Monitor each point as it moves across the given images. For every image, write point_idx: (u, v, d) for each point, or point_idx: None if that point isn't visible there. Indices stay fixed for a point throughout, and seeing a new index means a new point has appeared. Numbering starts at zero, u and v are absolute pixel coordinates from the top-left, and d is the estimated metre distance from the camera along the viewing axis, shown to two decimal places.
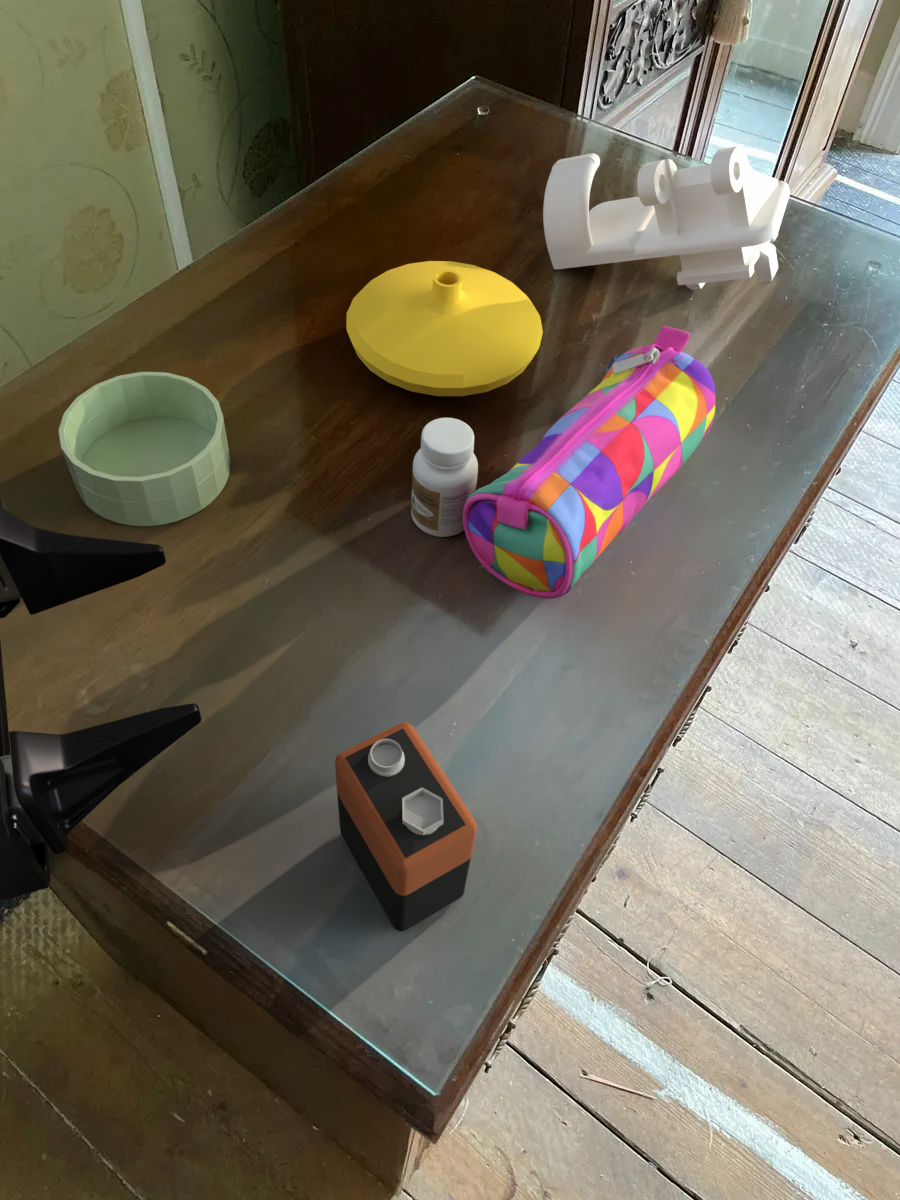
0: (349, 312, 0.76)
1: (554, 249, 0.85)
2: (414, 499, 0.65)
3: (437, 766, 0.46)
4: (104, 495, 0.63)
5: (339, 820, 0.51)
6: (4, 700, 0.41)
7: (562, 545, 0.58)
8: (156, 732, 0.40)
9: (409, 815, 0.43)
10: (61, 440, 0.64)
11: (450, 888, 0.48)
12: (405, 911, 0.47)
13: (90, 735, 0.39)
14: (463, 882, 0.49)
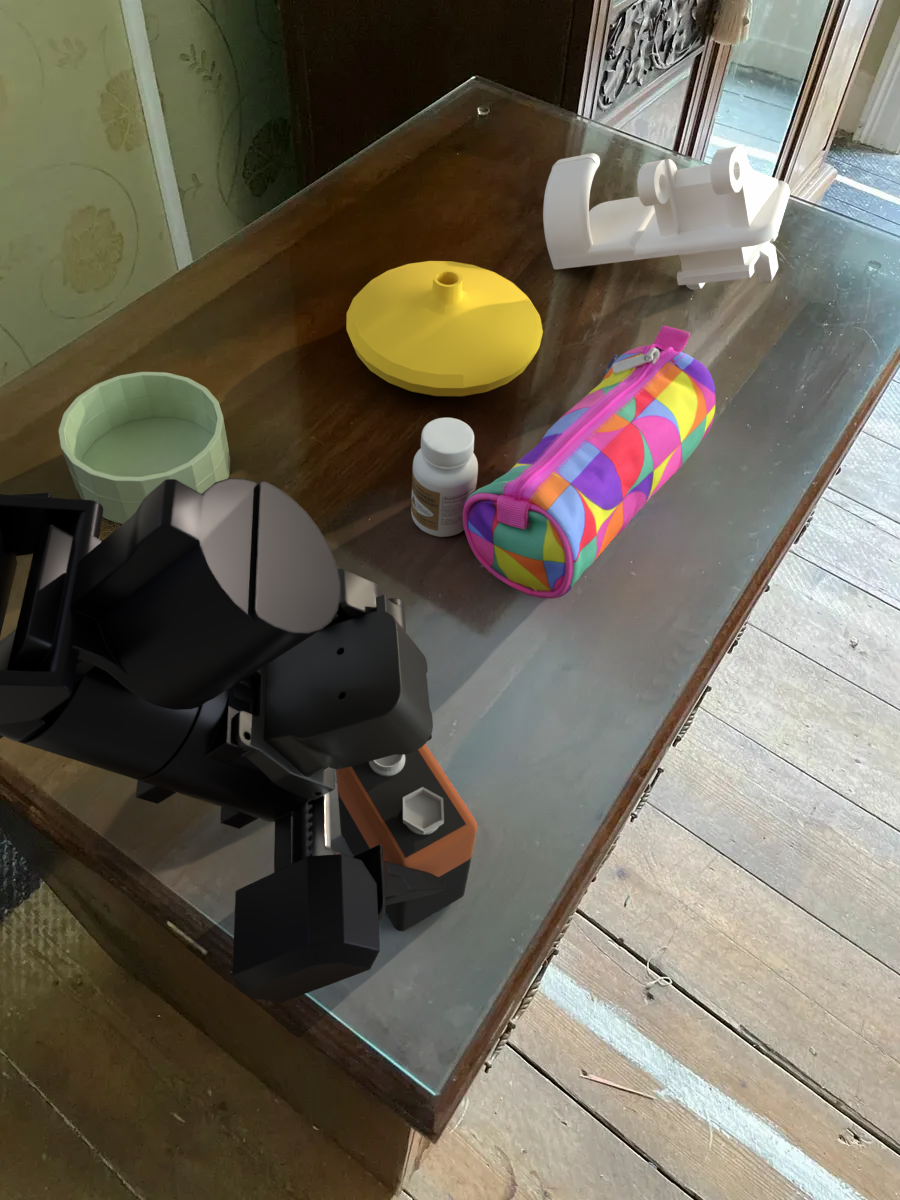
0: (349, 312, 0.76)
1: (554, 249, 0.85)
2: (414, 499, 0.65)
3: (438, 766, 0.46)
4: (104, 495, 0.63)
5: (340, 820, 0.51)
6: None
7: (562, 545, 0.58)
8: (420, 892, 0.43)
9: (409, 814, 0.44)
10: (61, 440, 0.64)
11: (451, 887, 0.48)
12: (406, 911, 0.47)
13: (396, 872, 0.41)
14: (463, 882, 0.49)
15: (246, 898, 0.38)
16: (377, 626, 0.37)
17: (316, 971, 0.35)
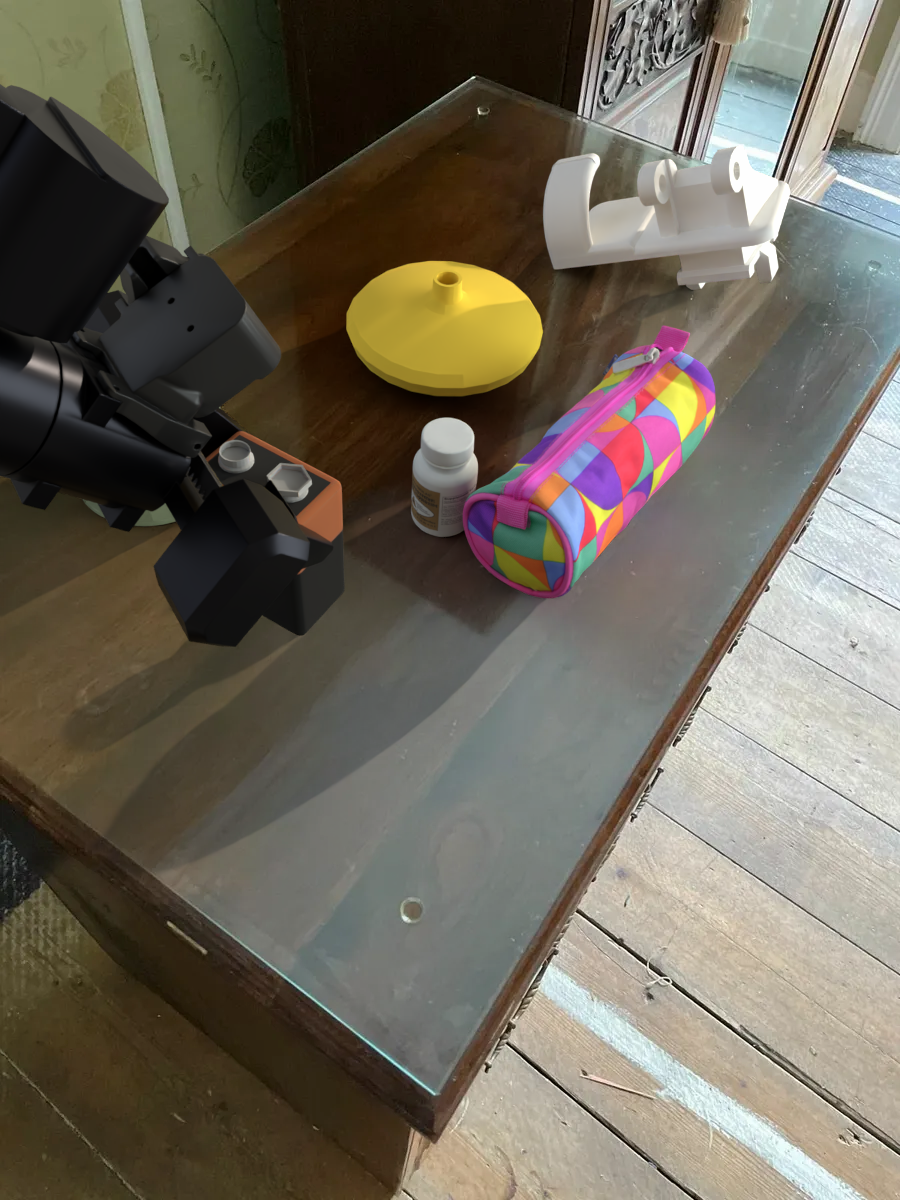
0: (349, 312, 0.76)
1: (554, 249, 0.85)
2: (414, 499, 0.65)
3: (284, 452, 0.49)
4: None
5: None
6: None
7: (562, 545, 0.58)
8: (314, 548, 0.46)
9: (279, 487, 0.46)
10: None
11: (334, 573, 0.52)
12: (303, 600, 0.50)
13: None
14: (342, 567, 0.52)
15: (167, 562, 0.39)
16: (196, 268, 0.39)
17: (263, 576, 0.38)
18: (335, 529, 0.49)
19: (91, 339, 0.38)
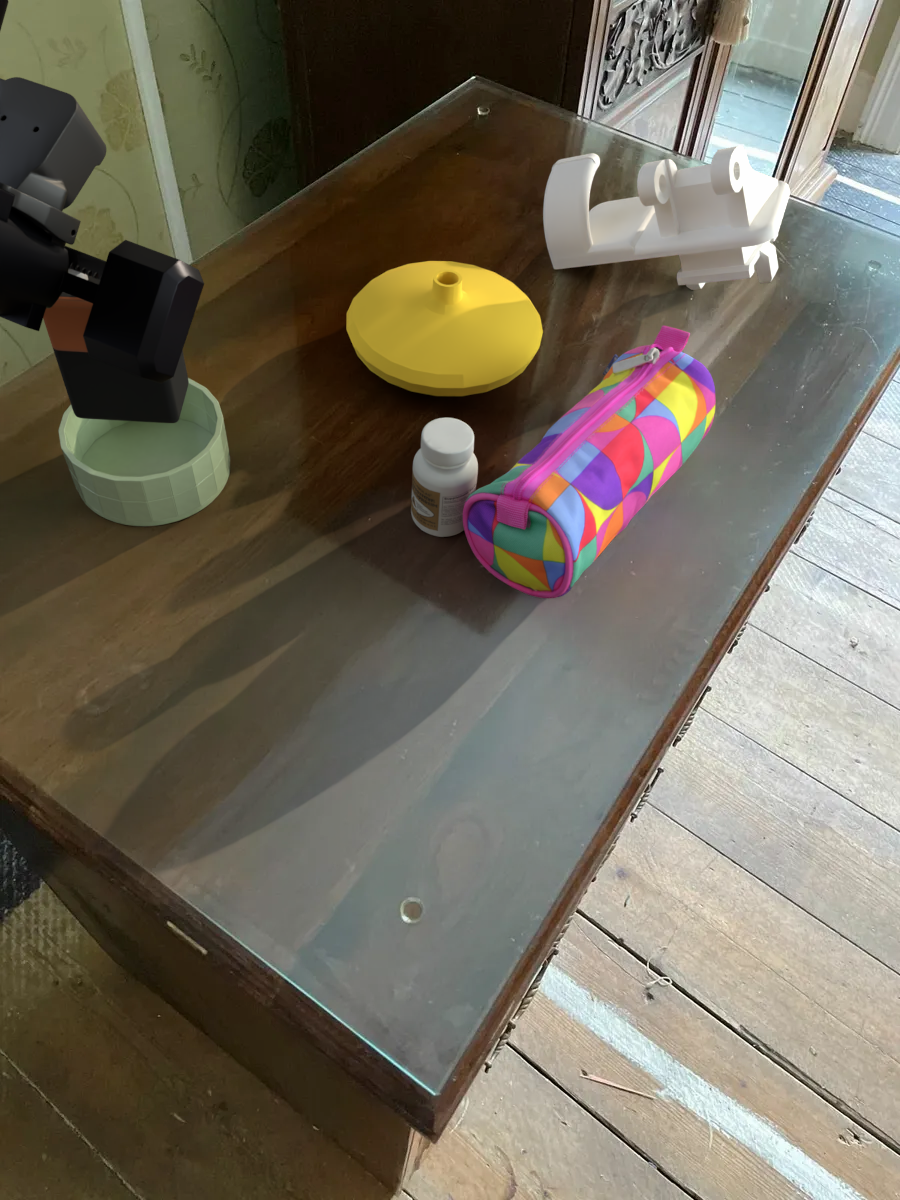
0: (349, 312, 0.76)
1: (554, 249, 0.85)
2: (414, 499, 0.65)
3: None
4: (104, 495, 0.63)
5: (71, 395, 0.60)
6: None
7: (562, 545, 0.58)
8: None
9: None
10: (61, 440, 0.64)
11: (180, 360, 0.62)
12: (172, 382, 0.60)
13: None
14: (183, 356, 0.62)
15: (95, 325, 0.48)
16: (10, 88, 0.47)
17: (180, 299, 0.48)
18: None
19: None
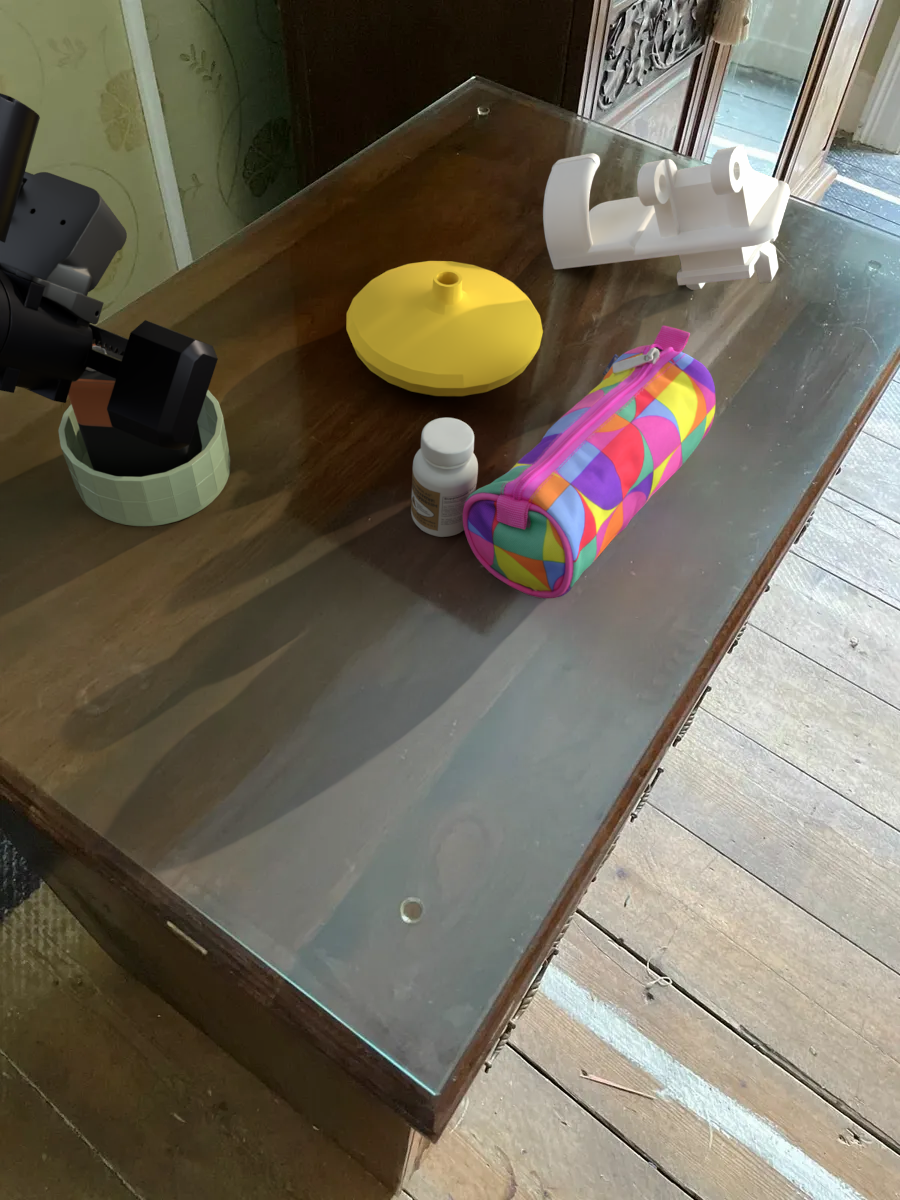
0: (349, 312, 0.76)
1: (554, 249, 0.85)
2: (414, 499, 0.65)
3: None
4: (104, 495, 0.63)
5: (94, 463, 0.65)
6: None
7: (562, 545, 0.58)
8: None
9: None
10: (61, 440, 0.64)
11: (195, 429, 0.66)
12: (187, 452, 0.65)
13: None
14: (197, 424, 0.67)
15: (118, 399, 0.52)
16: (38, 183, 0.51)
17: (196, 375, 0.52)
18: None
19: None
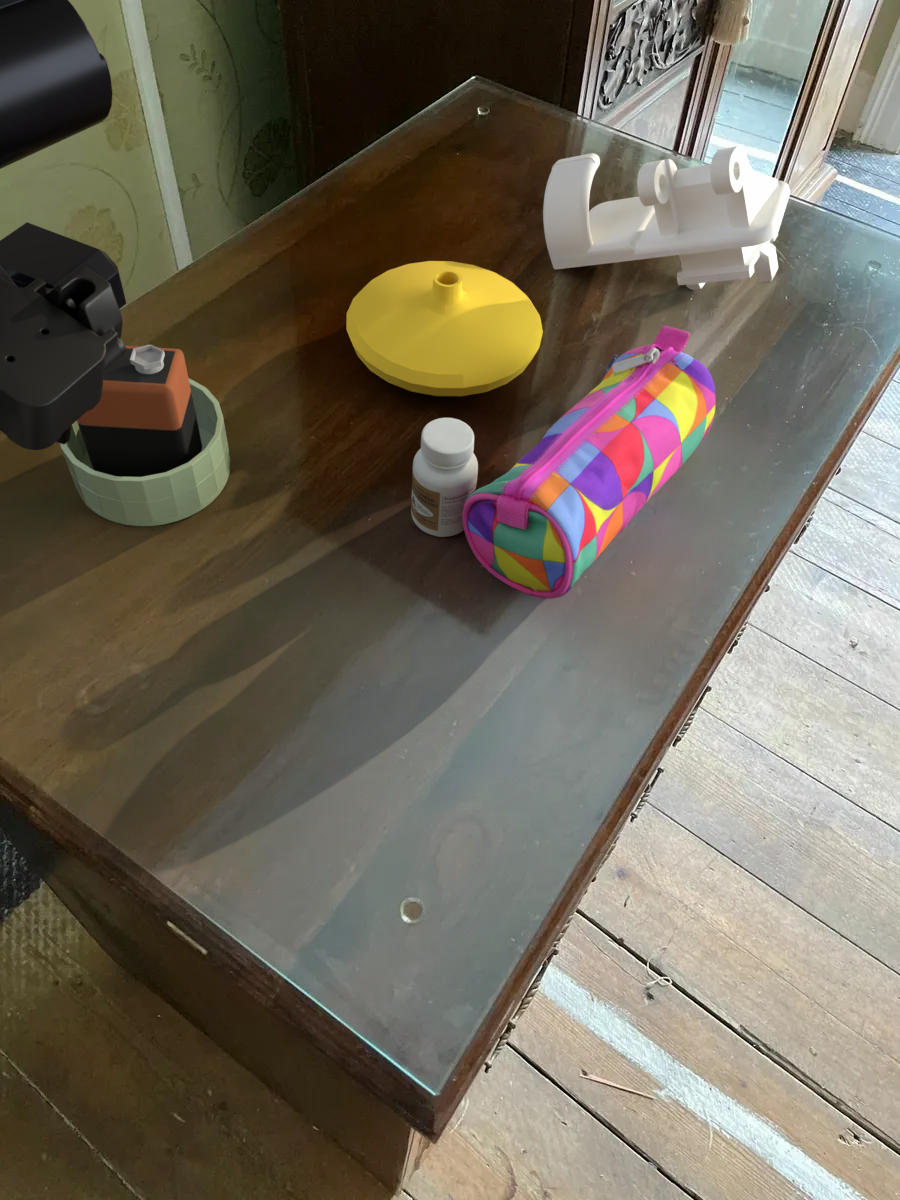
0: (349, 312, 0.76)
1: (554, 249, 0.85)
2: (414, 499, 0.65)
3: None
4: (104, 495, 0.63)
5: (94, 463, 0.65)
6: None
7: (562, 545, 0.58)
8: None
9: (143, 364, 0.60)
10: None
11: (195, 429, 0.66)
12: (187, 452, 0.65)
13: None
14: (197, 424, 0.67)
15: None
16: (88, 346, 0.39)
17: None
18: (188, 389, 0.64)
19: None
